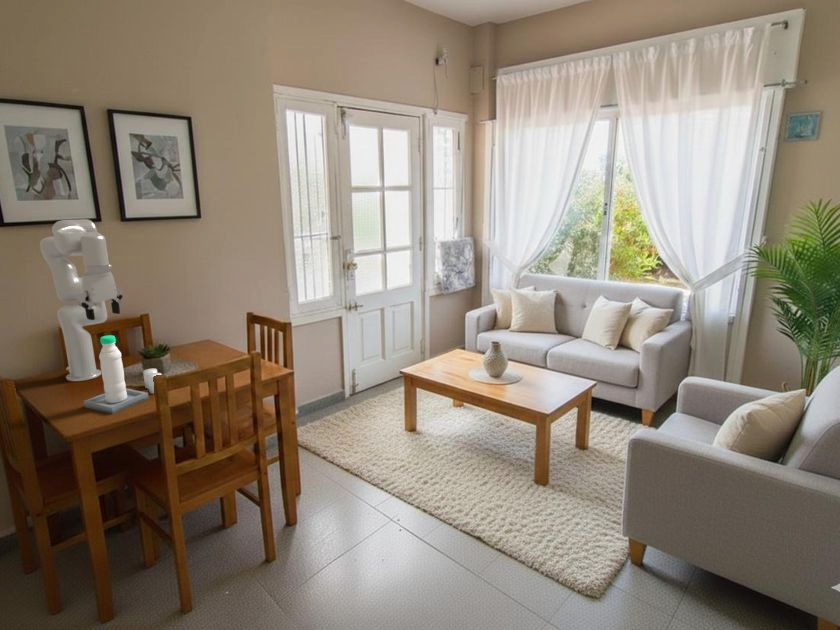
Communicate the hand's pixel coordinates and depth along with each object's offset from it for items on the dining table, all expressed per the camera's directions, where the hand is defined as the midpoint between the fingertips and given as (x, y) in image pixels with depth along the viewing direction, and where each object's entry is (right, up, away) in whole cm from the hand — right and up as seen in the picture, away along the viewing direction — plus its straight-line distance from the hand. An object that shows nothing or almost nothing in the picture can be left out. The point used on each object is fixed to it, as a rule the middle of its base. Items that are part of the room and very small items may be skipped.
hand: (104, 316), depth 185 cm
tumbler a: (+10, -30, +19) cm, 37 cm away
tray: (0, -33, +8) cm, 34 cm away
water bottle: (0, -32, +7) cm, 33 cm away
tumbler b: (+5, -29, +24) cm, 38 cm away
